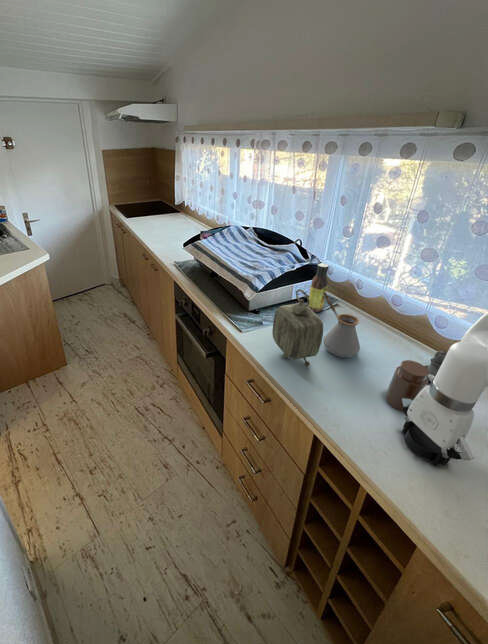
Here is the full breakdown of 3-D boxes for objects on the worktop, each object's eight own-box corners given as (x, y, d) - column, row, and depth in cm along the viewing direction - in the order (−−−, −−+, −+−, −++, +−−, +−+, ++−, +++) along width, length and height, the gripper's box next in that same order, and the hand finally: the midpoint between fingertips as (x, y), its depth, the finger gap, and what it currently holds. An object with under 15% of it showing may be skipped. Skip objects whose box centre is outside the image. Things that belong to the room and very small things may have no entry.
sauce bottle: (322, 313, 126) (332, 269, 116) (306, 311, 128) (315, 267, 118) (322, 305, 131) (331, 263, 122) (306, 303, 133) (315, 261, 124)
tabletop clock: (314, 368, 97) (331, 301, 86) (289, 373, 96) (302, 305, 84) (291, 341, 110) (302, 279, 98) (268, 345, 108) (277, 282, 96)
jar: (409, 394, 88) (425, 361, 82) (419, 414, 82) (436, 380, 76) (381, 389, 90) (395, 356, 84) (389, 408, 84) (403, 374, 78)
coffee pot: (365, 359, 101) (378, 321, 94) (333, 363, 100) (343, 325, 93) (329, 323, 120) (337, 289, 113) (302, 325, 118) (308, 292, 111)
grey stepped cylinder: (444, 390, 89) (461, 358, 83) (420, 385, 91) (435, 354, 85) (437, 376, 94) (452, 345, 88) (414, 372, 96) (428, 341, 90)
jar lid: (410, 456, 71) (414, 448, 70) (399, 428, 77) (403, 421, 76) (448, 464, 69) (453, 456, 68) (434, 435, 76) (439, 428, 74)
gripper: (402, 370, 72) (381, 420, 80) (481, 434, 57) (445, 487, 65) (428, 364, 74) (404, 414, 82) (511, 425, 59) (471, 478, 67)
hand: (422, 446), depth 74 cm, fingers closed on jar lid, 7 cm apart
